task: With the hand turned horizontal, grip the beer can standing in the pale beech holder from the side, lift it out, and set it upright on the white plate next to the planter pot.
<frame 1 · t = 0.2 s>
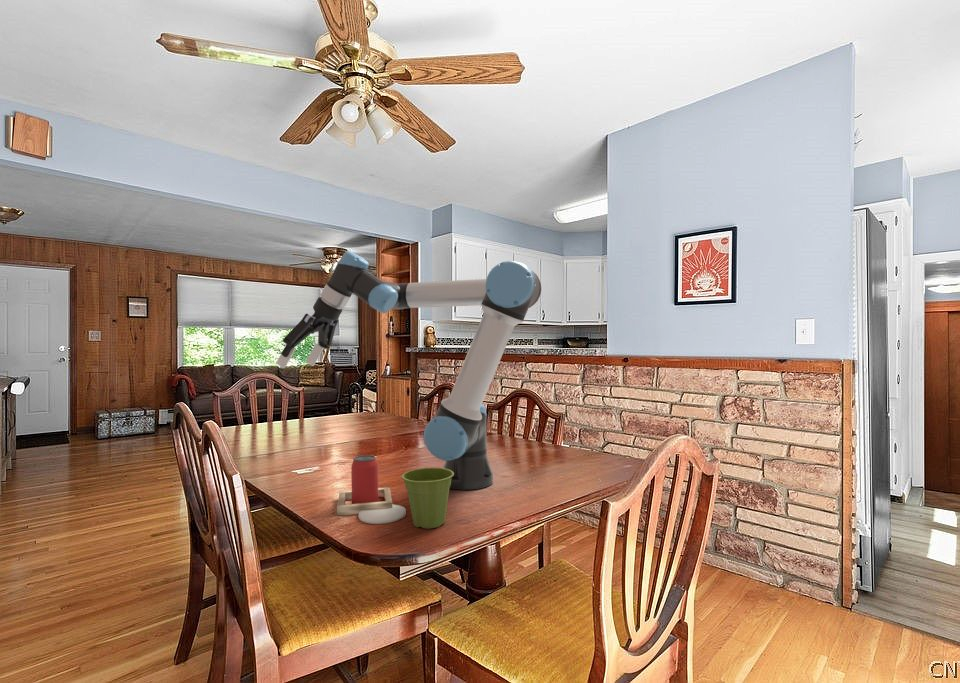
hand: (295, 364, 143), 35 cm above the table, tool tilted 35°, fingers open, 13 cm apart
plant pot: (428, 524, 111), on the table
white plate: (382, 515, 117), on the table
beer can: (365, 505, 125), resting in holder
holder: (365, 504, 125), on the table
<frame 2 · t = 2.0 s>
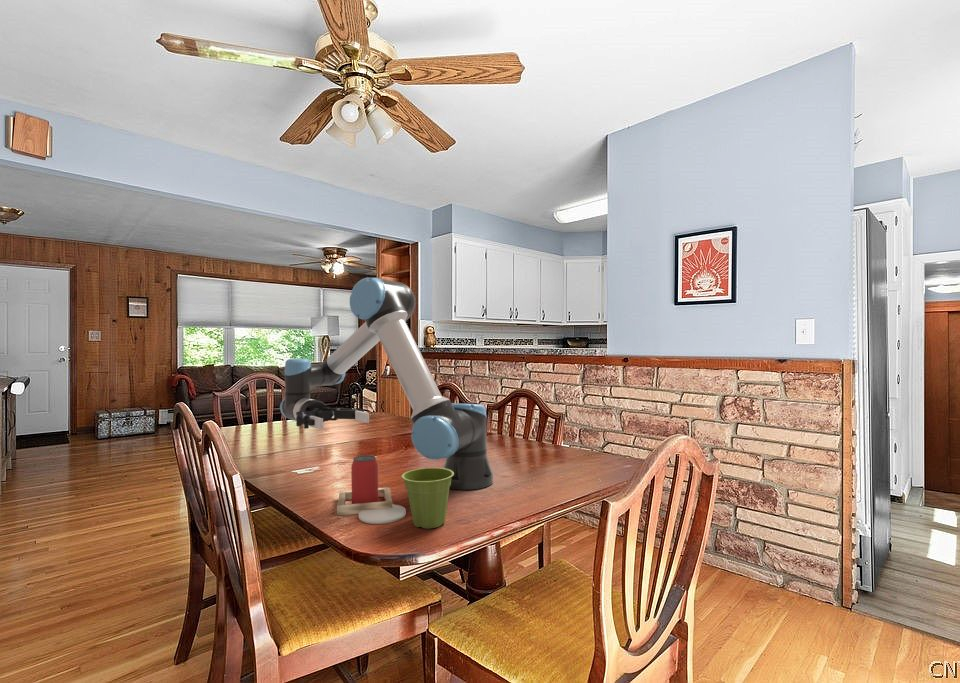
hand: (345, 420, 132), 20 cm above the table, tool horizontal, fingers open, 13 cm apart
nothing on the table moved.
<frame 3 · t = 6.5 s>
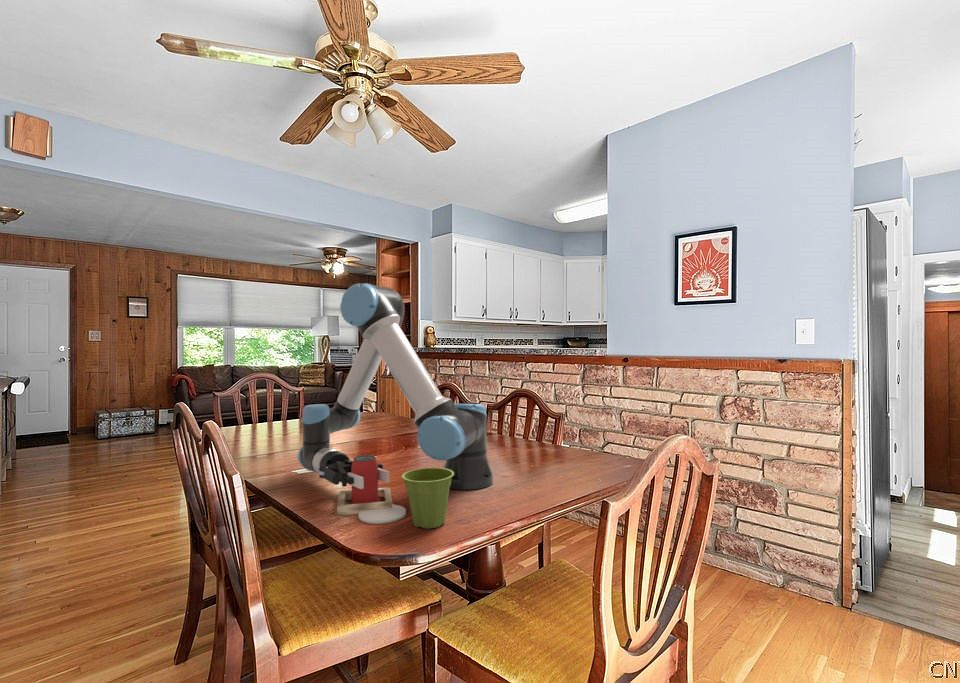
hand: (375, 480, 121), 7 cm above the table, tool horizontal, fingers closed on beer can, 7 cm apart
beer can: (365, 505, 125), resting in holder, touching gripper
everything else where it was.
when the fingers open (9 cm above the table, at t = 10.7 s): beer can stays where it is, resting on white plate, holder.
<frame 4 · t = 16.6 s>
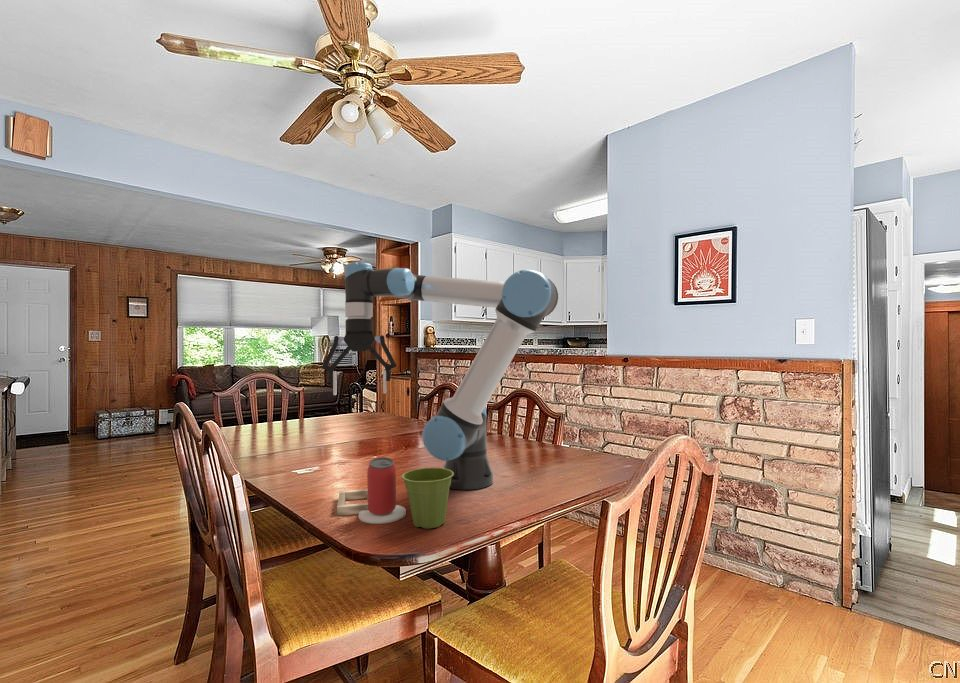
hand: (360, 394, 138), 27 cm above the table, tool pointing down, fingers open, 13 cm apart
beer can: (381, 509, 117), point 1 cm above the table, touching white plate, holder
everything else where it was.
at the end: beer can inside the target area on the white plate (0.2 cm from its centre), point 1.3 cm above the white plate's base; beer can tilted 12°; the gripper is holding nothing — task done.
